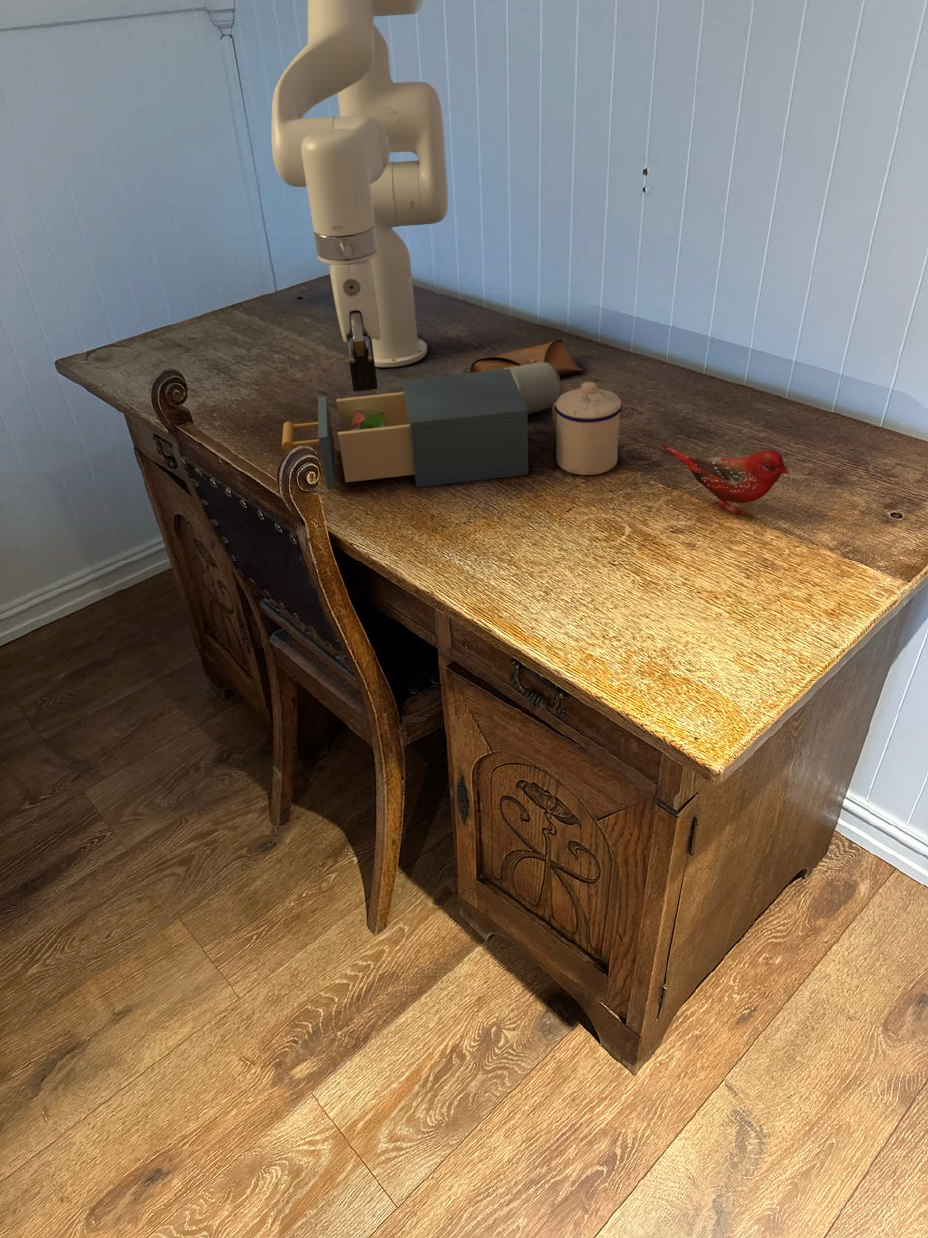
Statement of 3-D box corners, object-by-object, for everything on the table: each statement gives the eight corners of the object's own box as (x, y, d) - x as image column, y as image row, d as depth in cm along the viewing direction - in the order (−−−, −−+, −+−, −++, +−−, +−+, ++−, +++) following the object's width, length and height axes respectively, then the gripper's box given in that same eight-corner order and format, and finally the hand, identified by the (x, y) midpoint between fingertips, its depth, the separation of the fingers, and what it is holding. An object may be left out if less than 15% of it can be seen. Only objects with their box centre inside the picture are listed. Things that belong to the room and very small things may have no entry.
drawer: (288, 494, 124) (277, 442, 119) (290, 450, 134) (281, 400, 129) (432, 477, 125) (427, 425, 120) (423, 435, 136) (418, 385, 131)
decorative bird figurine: (773, 534, 111) (786, 461, 105) (651, 490, 121) (657, 421, 115) (784, 524, 113) (798, 452, 106) (663, 481, 123) (669, 413, 116)
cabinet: (416, 487, 125) (409, 422, 119) (408, 441, 136) (402, 379, 130) (528, 474, 126) (527, 409, 120) (511, 429, 137) (509, 368, 131)
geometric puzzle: (412, 443, 126) (385, 391, 125) (374, 461, 123) (346, 408, 122) (389, 458, 132) (363, 409, 131) (353, 476, 129) (326, 425, 128)
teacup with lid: (632, 463, 127) (637, 385, 120) (582, 483, 123) (584, 404, 116) (578, 433, 135) (579, 358, 128) (529, 452, 131) (528, 376, 124)
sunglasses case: (493, 395, 146) (482, 354, 145) (477, 402, 153) (466, 363, 152) (587, 369, 152) (577, 330, 151) (568, 378, 159) (557, 340, 158)
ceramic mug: (564, 412, 141) (564, 364, 136) (520, 425, 138) (519, 377, 133) (528, 390, 148) (527, 344, 144) (485, 403, 146) (483, 357, 141)
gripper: (380, 261, 105) (396, 398, 116) (373, 220, 118) (387, 346, 129) (316, 268, 104) (337, 405, 115) (315, 226, 118) (335, 352, 129)
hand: (364, 374), depth 122 cm, fingers open, 9 cm apart
